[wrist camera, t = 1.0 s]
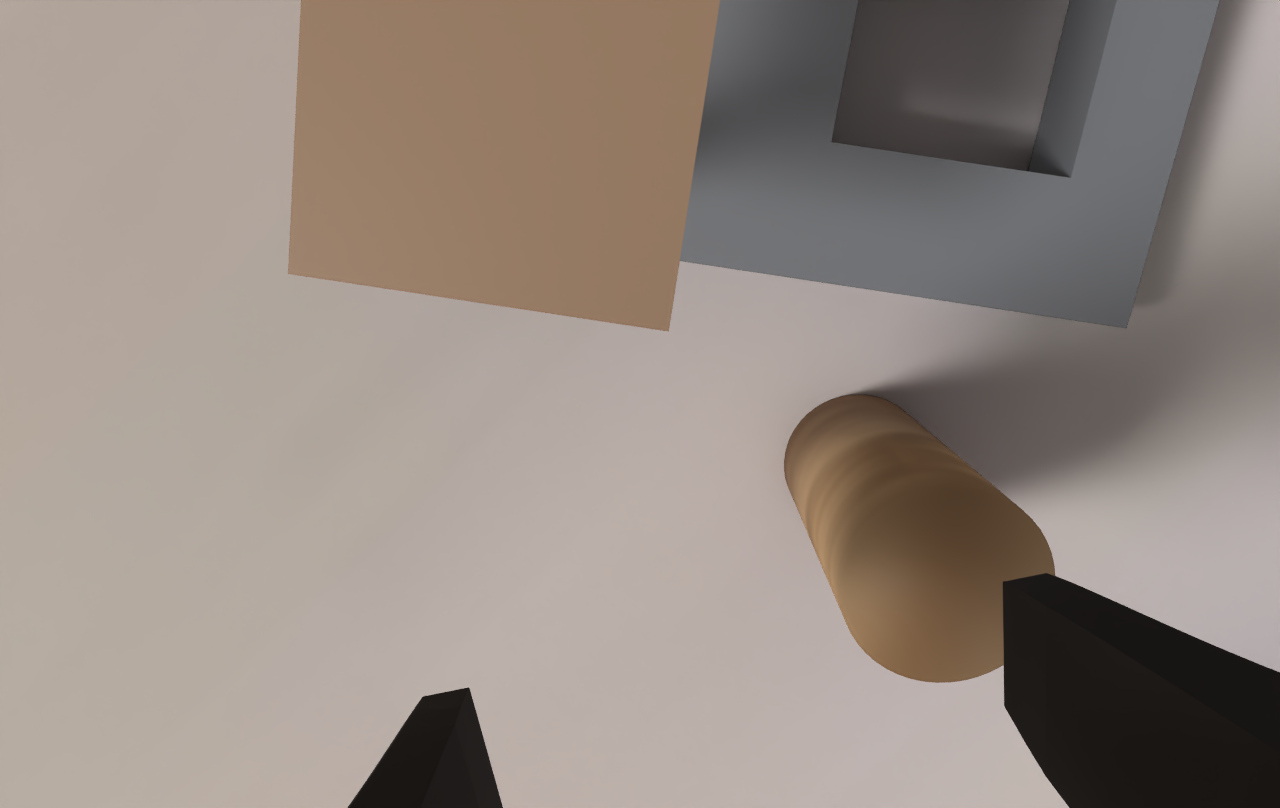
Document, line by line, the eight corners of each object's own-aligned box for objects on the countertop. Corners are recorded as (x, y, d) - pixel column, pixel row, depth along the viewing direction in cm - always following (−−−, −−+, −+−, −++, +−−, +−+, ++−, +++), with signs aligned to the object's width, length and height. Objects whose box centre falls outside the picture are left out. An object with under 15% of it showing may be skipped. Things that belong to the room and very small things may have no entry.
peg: (940, 406, 23) (1079, 504, 15) (909, 538, 24) (1024, 696, 16) (798, 384, 23) (863, 471, 15) (772, 518, 24) (821, 665, 16)
